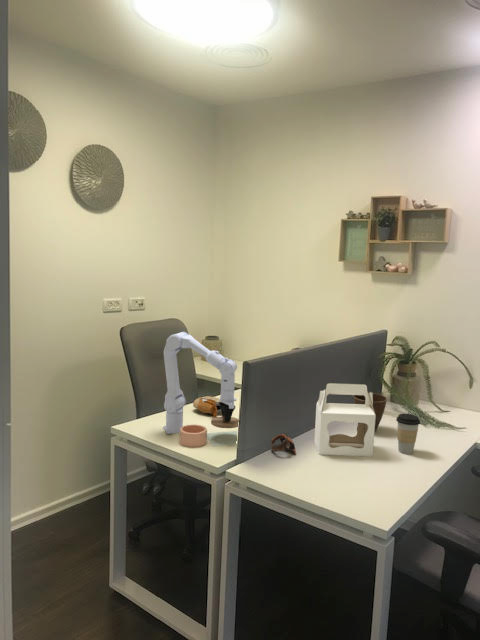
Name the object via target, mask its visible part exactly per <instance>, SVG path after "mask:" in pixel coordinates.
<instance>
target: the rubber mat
mask: <svg viewBox="0 0 480 640" xmlns="http://www.w3.org/2000/svg"><path fill="white" fill-rule="evenodd" d="M237 431H238V430H233V431H230V430H229V431H221V432H220V431H219V432H207V440H209V442H210V444H211V445H212V447H224V446H235V445H237V444H236V441H237Z"/></svg>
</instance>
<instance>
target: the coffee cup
mask: <svg viewBox="0 0 480 640" xmlns="http://www.w3.org/2000/svg"><path fill="white" fill-rule="evenodd" d="M395 421H396V422H397V447H398V448H397V449H398V452H399V453H400V454H403V455H412V454H413V453H414V450H415V449H414V448H415V444H416V441H417V437H418V431H419V425H421V420H420V419H419V417H418V416H417V415H415V414H411V413H399V414H398V416H396V420H395Z"/></svg>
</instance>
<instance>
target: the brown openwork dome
mask: <svg viewBox="0 0 480 640" xmlns="http://www.w3.org/2000/svg"><path fill="white" fill-rule="evenodd" d="M277 440H279V441H280V442H281V443H279V444H275V442H276V441H277ZM287 447H288V450H289V449H290V450H291V451H293V455H296V454H297V451H296V446H295V443H294V441H293V440H292V438H290V437H289V436H288V435H287V434H286V433H282V434H281V433H280V434H278V435H276V436H274V437H273V438H272V439H271V442H270V449H271V452H275V453H276V452H280V451H283V452H285V448H287Z"/></svg>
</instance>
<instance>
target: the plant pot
mask: <svg viewBox="0 0 480 640" xmlns="http://www.w3.org/2000/svg"><path fill="white" fill-rule="evenodd" d="M352 396H353V404H365V396H364V395H363V396H361V395H352ZM387 400H388V398H387V397H386V396H385V395H383V394H380V393H377V392H376V393H374V392H373V408H374V411H375V414H376V418H375V431H374V433H376V432H377V430H378V427H379V425H380V423H381V421H382V418H383V415H384V413H385V409H386V405H387Z"/></svg>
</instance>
